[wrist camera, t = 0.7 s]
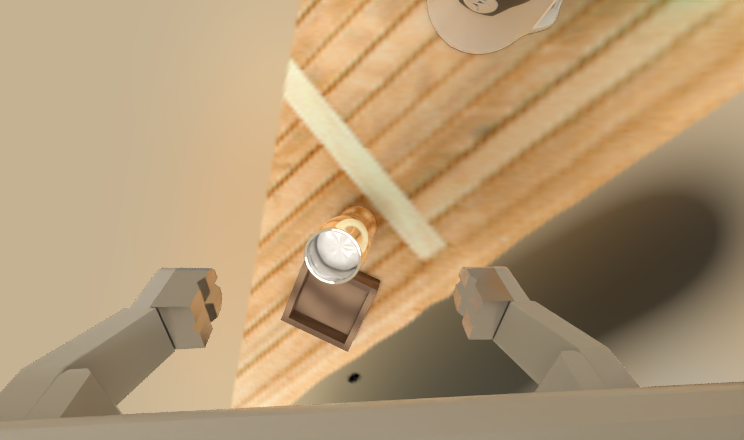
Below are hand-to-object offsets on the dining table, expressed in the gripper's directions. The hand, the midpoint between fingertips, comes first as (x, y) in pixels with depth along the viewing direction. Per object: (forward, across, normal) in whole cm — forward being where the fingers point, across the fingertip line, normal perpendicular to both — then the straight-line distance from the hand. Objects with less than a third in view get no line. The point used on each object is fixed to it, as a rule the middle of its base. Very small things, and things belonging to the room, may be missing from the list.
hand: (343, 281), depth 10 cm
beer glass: (+33, -3, +20) cm, 38 cm away
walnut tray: (+29, +1, +32) cm, 43 cm away
